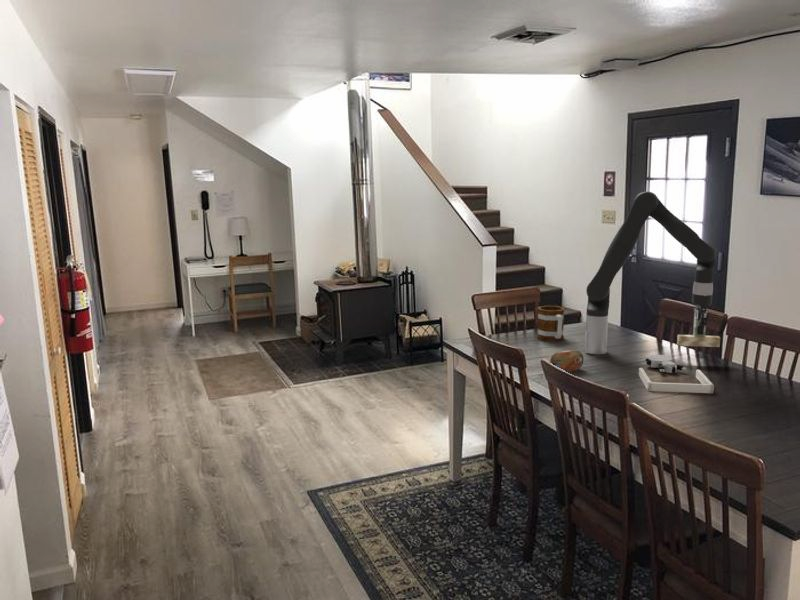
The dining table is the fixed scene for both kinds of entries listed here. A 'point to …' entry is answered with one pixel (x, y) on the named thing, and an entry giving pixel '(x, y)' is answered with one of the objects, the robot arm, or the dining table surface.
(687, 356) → the dining table surface
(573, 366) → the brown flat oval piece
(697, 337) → the scraper
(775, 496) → the dining table surface
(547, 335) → the mug
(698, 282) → the robot arm
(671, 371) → the robot toy
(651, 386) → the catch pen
